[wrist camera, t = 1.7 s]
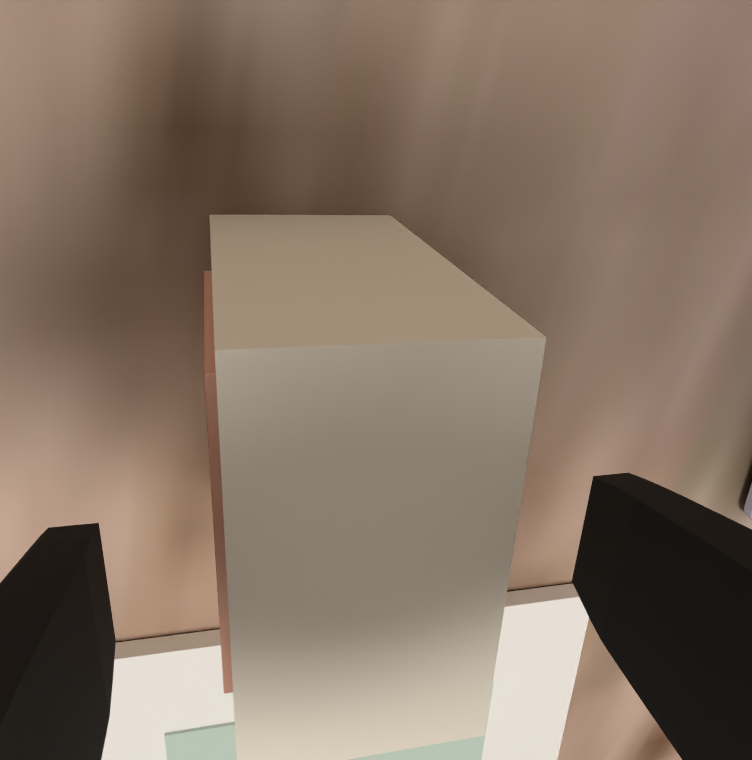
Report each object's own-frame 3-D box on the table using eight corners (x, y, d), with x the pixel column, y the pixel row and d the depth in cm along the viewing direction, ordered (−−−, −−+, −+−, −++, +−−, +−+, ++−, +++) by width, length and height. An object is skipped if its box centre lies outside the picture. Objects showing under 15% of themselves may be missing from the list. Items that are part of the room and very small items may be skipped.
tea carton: (390, 215, 16) (546, 337, 8) (376, 478, 18) (484, 735, 11) (202, 214, 15) (200, 350, 8) (217, 491, 17) (227, 781, 10)
